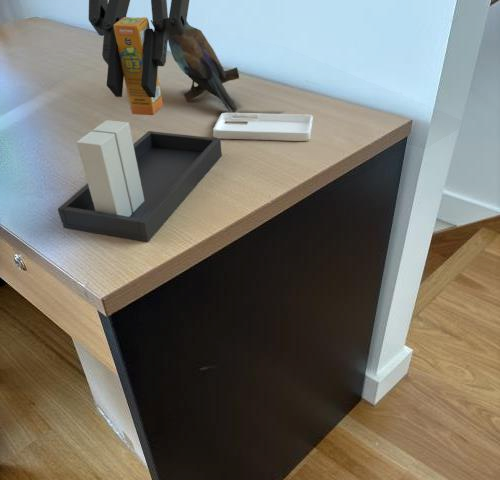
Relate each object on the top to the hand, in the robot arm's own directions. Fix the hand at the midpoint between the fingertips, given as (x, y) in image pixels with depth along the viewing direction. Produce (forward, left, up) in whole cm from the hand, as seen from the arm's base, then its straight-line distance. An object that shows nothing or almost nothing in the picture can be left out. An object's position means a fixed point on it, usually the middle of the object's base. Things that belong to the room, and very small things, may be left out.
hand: (131, 91), depth 59 cm
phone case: (+8, +23, -13) cm, 28 cm away
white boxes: (-1, -6, -13) cm, 14 cm away
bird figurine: (-6, +35, -13) cm, 38 cm away
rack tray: (-1, +1, -13) cm, 13 cm away
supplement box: (-1, +4, -4) cm, 6 cm away
